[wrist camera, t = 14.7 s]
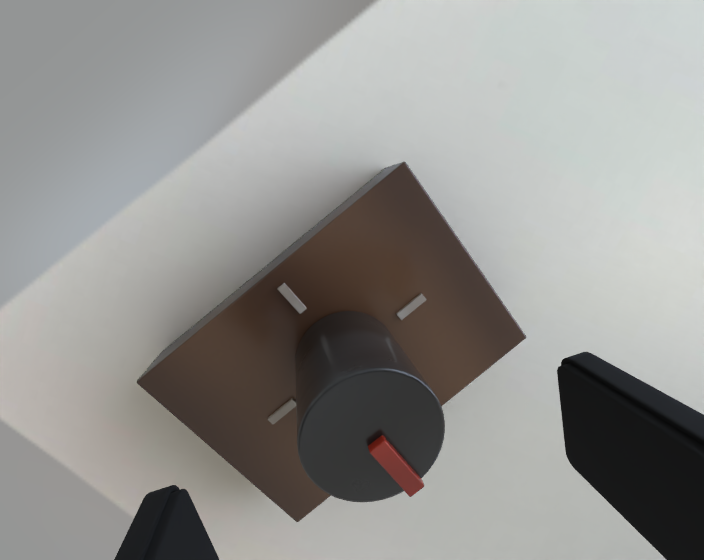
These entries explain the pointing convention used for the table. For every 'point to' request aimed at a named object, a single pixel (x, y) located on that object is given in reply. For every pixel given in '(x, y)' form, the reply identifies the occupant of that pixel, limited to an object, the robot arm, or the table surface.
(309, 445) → the knob
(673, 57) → the table surface
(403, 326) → the knob panel
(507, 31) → the table surface
